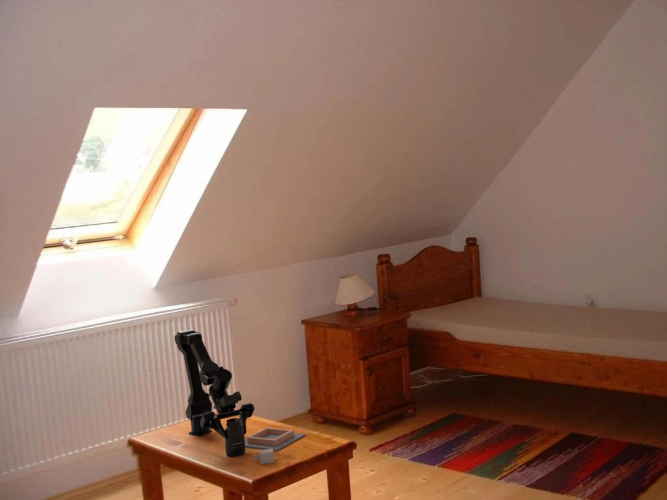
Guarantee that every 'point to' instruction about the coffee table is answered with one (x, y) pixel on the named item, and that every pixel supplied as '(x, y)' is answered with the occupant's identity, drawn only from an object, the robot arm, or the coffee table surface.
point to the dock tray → (272, 439)
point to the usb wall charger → (265, 456)
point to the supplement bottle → (234, 438)
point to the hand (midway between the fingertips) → (236, 436)
